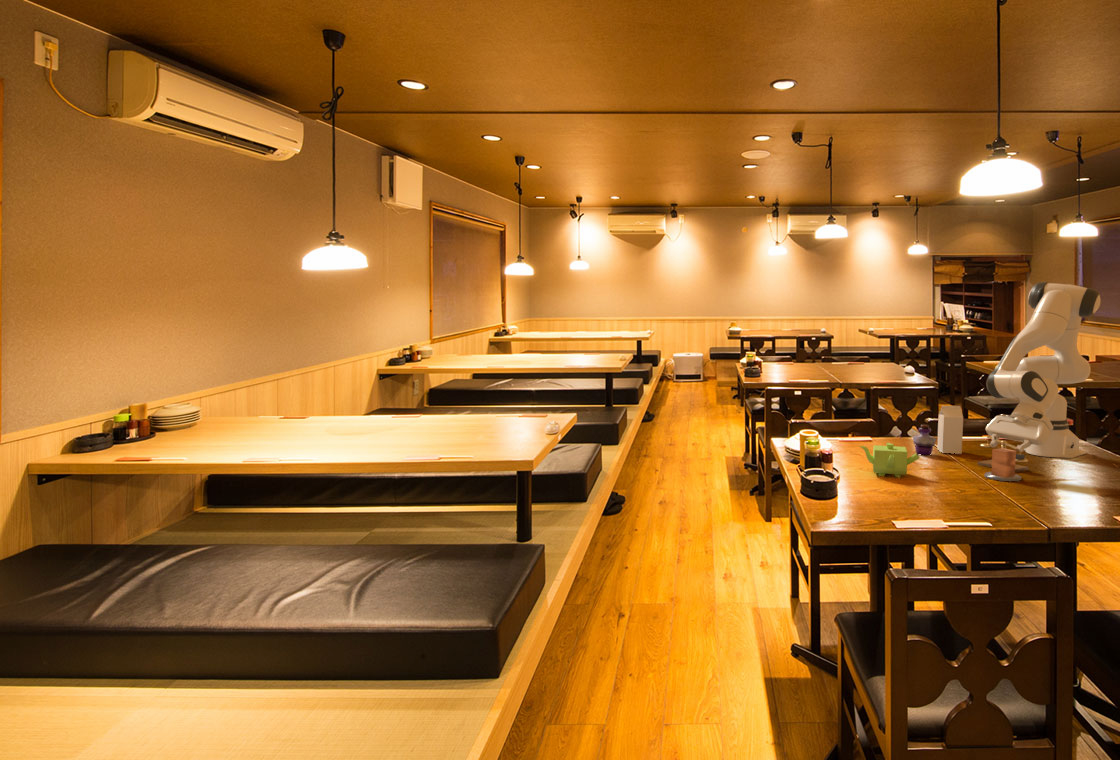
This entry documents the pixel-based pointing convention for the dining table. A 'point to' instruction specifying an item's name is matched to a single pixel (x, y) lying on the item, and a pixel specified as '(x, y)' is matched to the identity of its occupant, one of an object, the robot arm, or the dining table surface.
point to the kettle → (889, 459)
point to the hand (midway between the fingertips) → (1005, 448)
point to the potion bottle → (924, 441)
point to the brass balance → (1019, 457)
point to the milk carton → (950, 430)
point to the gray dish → (1014, 478)
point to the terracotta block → (1003, 462)
